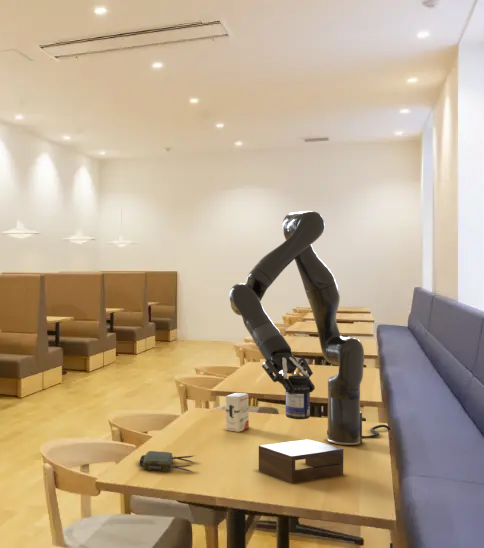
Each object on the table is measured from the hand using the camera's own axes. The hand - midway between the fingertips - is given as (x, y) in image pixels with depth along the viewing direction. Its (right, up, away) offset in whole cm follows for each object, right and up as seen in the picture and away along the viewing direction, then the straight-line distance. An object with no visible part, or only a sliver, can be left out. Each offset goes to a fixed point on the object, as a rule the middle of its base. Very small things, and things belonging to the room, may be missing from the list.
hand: (302, 391), depth 194 cm
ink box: (-1, -22, +53) cm, 57 cm away
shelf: (0, -22, +1) cm, 22 cm away
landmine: (-34, -22, +9) cm, 42 cm away
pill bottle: (-1, -7, +2) cm, 8 cm away
